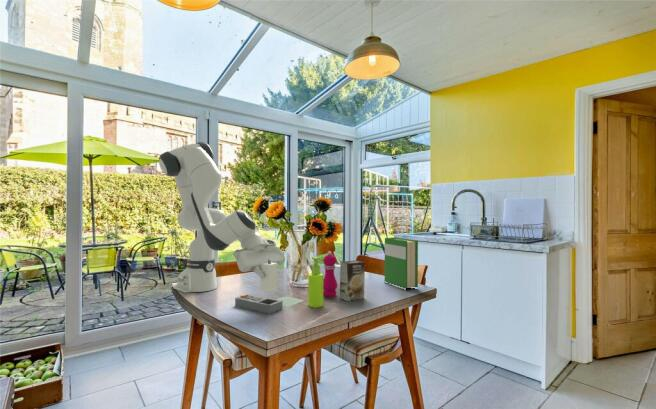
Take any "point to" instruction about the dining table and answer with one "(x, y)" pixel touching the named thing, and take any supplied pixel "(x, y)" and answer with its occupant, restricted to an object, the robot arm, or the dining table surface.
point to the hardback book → (401, 262)
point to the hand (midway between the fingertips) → (270, 276)
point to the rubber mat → (289, 301)
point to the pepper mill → (329, 276)
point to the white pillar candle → (269, 276)
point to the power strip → (258, 303)
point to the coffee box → (352, 280)
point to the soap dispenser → (315, 285)
